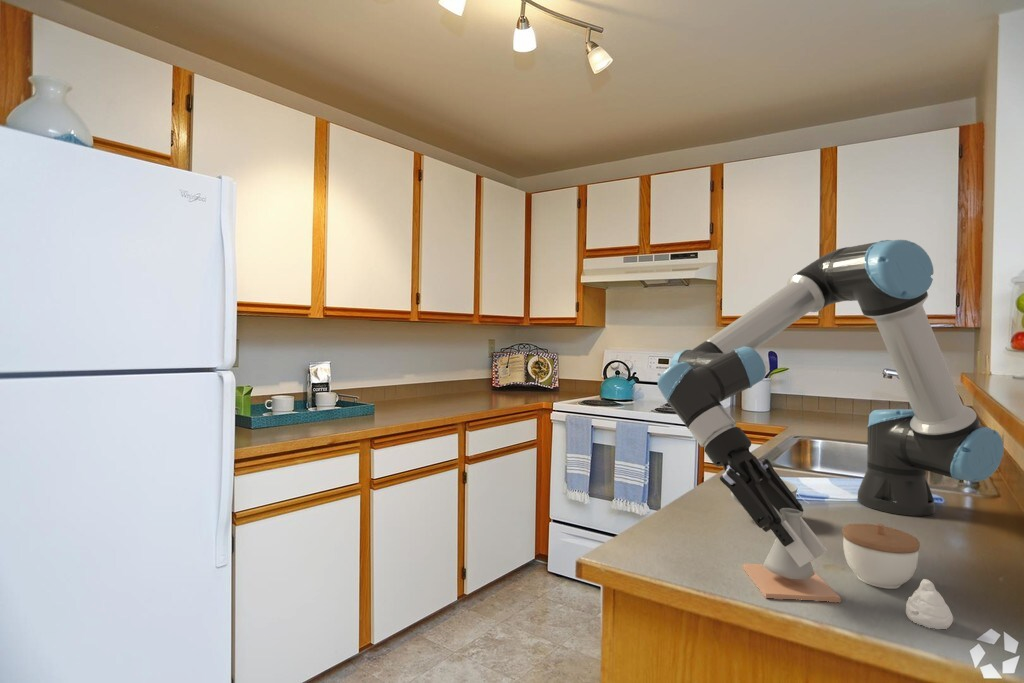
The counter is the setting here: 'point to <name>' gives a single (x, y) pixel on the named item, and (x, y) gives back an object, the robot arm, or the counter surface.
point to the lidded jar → (880, 554)
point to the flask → (780, 557)
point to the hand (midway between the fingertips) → (813, 558)
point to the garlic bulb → (928, 607)
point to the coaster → (789, 585)
